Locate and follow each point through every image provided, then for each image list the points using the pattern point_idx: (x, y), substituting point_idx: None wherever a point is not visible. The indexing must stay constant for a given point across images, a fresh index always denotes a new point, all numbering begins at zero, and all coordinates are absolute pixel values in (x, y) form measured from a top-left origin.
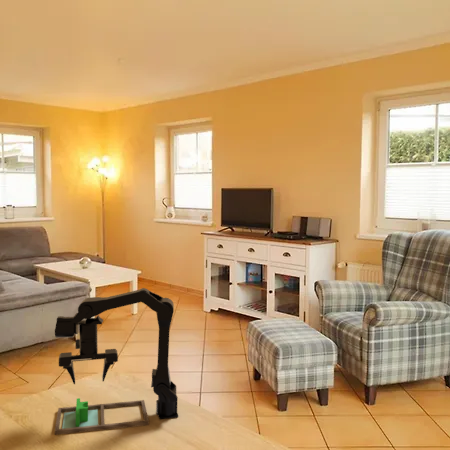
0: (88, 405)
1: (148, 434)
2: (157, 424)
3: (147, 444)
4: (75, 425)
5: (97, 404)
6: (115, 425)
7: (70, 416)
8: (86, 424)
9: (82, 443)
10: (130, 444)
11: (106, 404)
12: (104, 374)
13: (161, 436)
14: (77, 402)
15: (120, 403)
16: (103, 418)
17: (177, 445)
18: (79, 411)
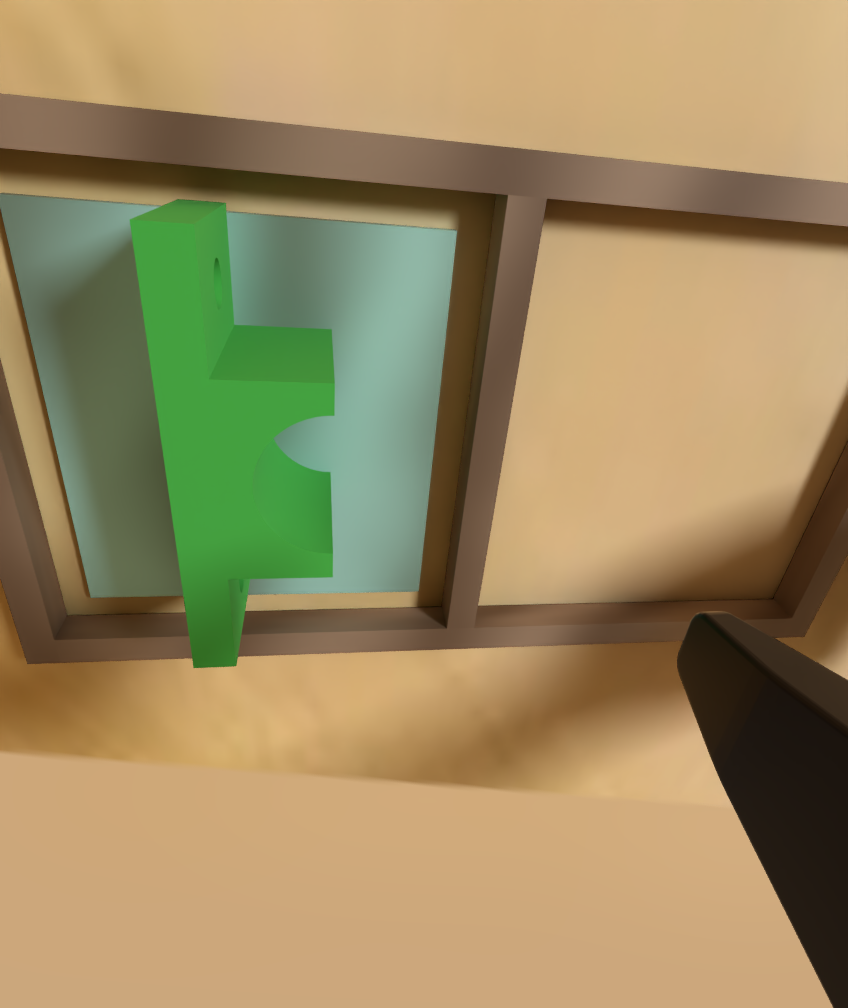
0: (340, 140)
1: None
2: (838, 620)
3: (667, 794)
4: None
5: (470, 143)
6: (554, 639)
7: (118, 337)
8: None
9: (293, 756)
10: (581, 788)
11: (585, 189)
12: (816, 905)
13: None
14: (170, 390)
15: (754, 213)
16: (482, 532)
17: None
18: (233, 634)
